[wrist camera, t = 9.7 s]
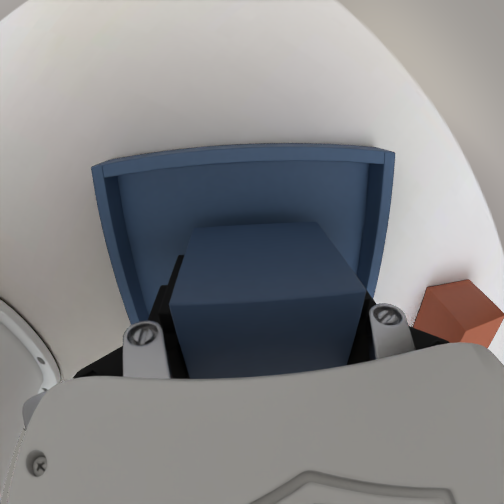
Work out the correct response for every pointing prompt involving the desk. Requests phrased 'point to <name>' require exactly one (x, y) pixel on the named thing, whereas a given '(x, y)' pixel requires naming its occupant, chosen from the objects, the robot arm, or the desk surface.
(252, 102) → the desk surface
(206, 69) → the desk surface
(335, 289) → the slate block
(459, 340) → the terracotta block
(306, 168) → the slate tray
